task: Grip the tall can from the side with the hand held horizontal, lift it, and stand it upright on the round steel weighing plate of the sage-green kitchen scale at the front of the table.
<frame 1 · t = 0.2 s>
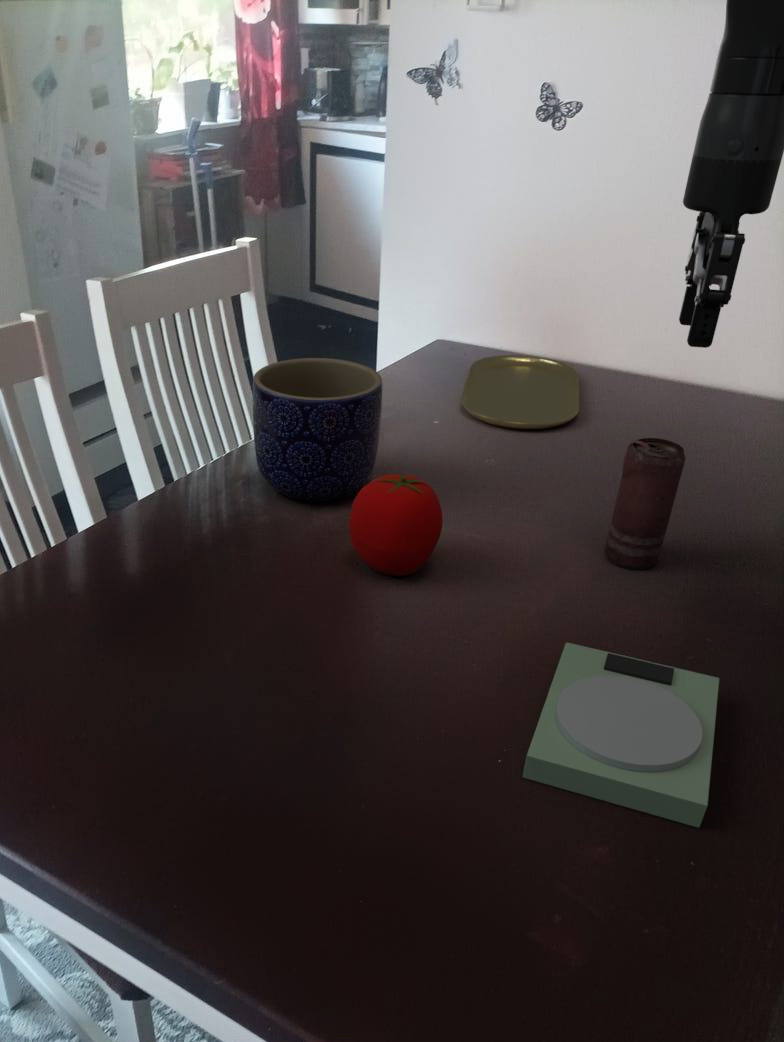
hand: (693, 335, 90), 26 cm above the table, tool pointing down, fingers open, 8 cm apart
serving platter: (520, 396, 153), on the table
scale: (622, 736, 80), on the table
can: (629, 559, 107), on the table
tomato: (393, 566, 105), on the table
planter: (315, 487, 122), on the table
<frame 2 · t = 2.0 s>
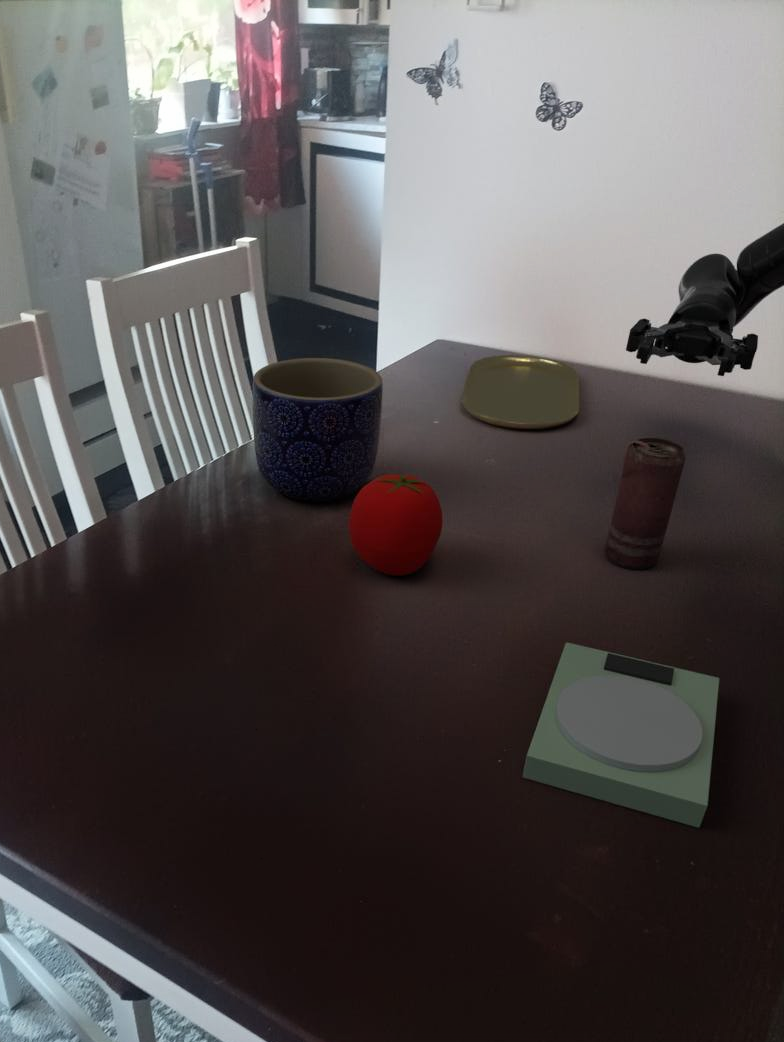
hand: (683, 361, 103), 20 cm above the table, tool horizontal, fingers open, 8 cm apart
nothing on the table moved.
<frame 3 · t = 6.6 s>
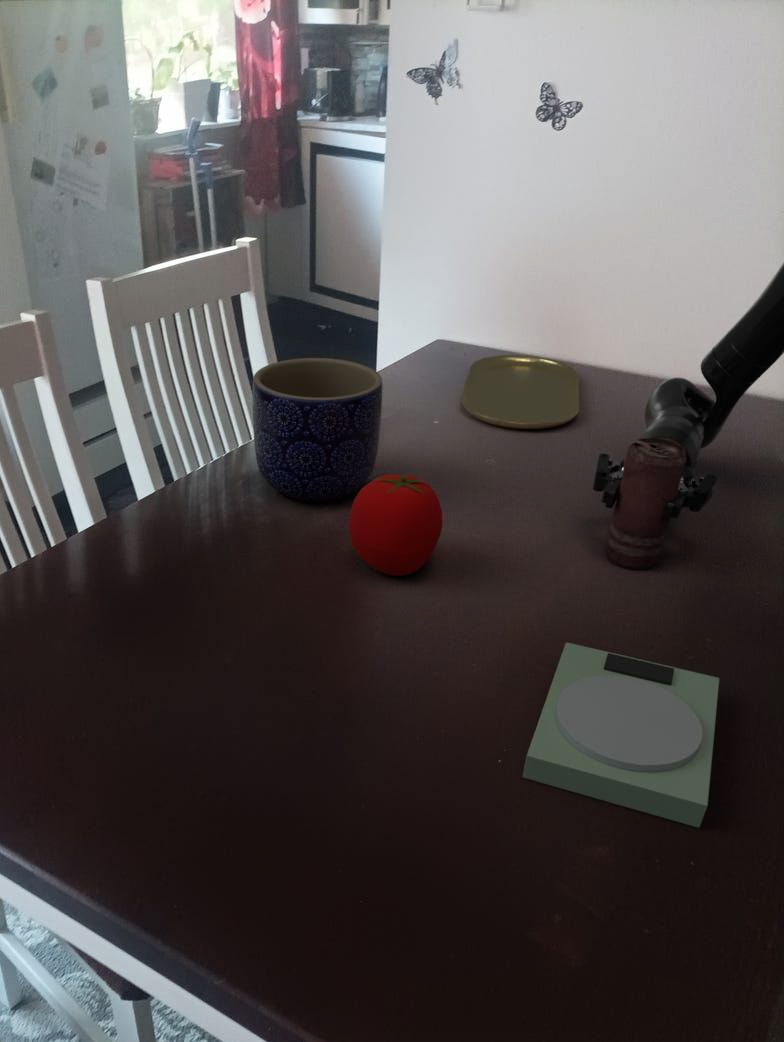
hand: (639, 506, 100), 8 cm above the table, tool horizontal, fingers open, 5 cm apart
can: (629, 559, 107), on the table, touching gripper
everything else where it was.
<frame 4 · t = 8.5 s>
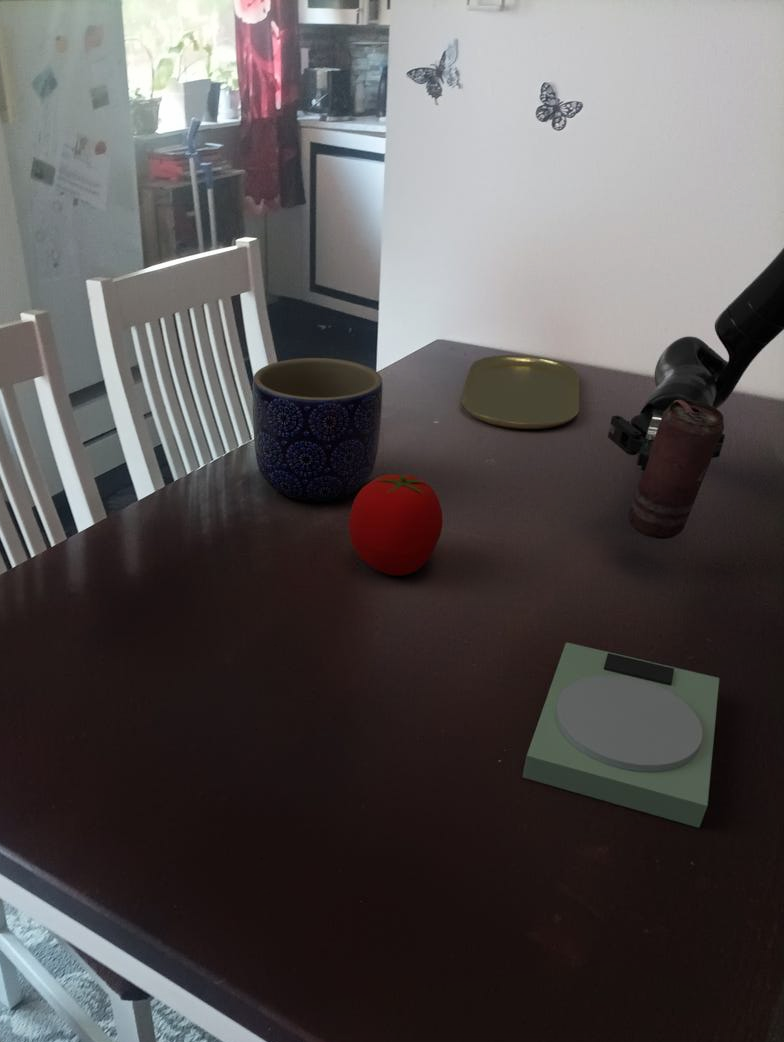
hand: (650, 463, 97), 13 cm above the table, tool horizontal, fingers closed
can: (652, 525, 102), point 5 cm above the table, touching gripper
everything else where it was.
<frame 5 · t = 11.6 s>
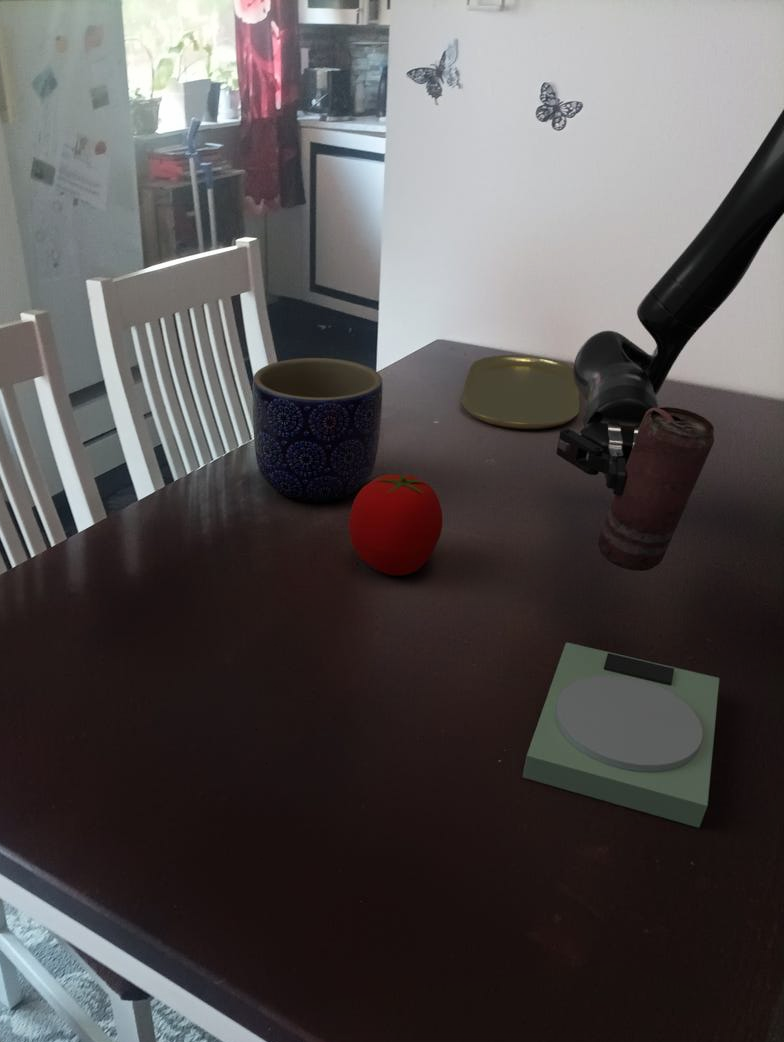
hand: (625, 485, 81), 18 cm above the table, tool horizontal, fingers closed
can: (625, 555, 86), point 10 cm above the table, touching gripper
everything else where it was.
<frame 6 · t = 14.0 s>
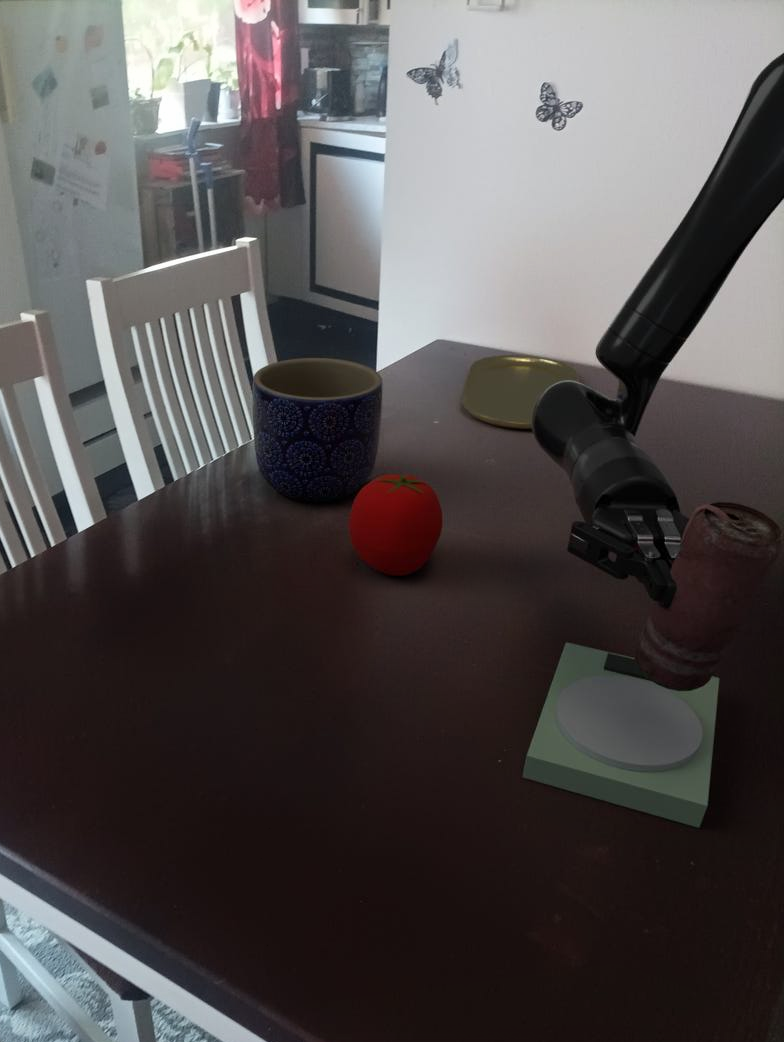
hand: (677, 597, 67), 17 cm above the table, tool horizontal, fingers closed
can: (666, 669, 72), point 9 cm above the table, touching gripper
everything else where it was.
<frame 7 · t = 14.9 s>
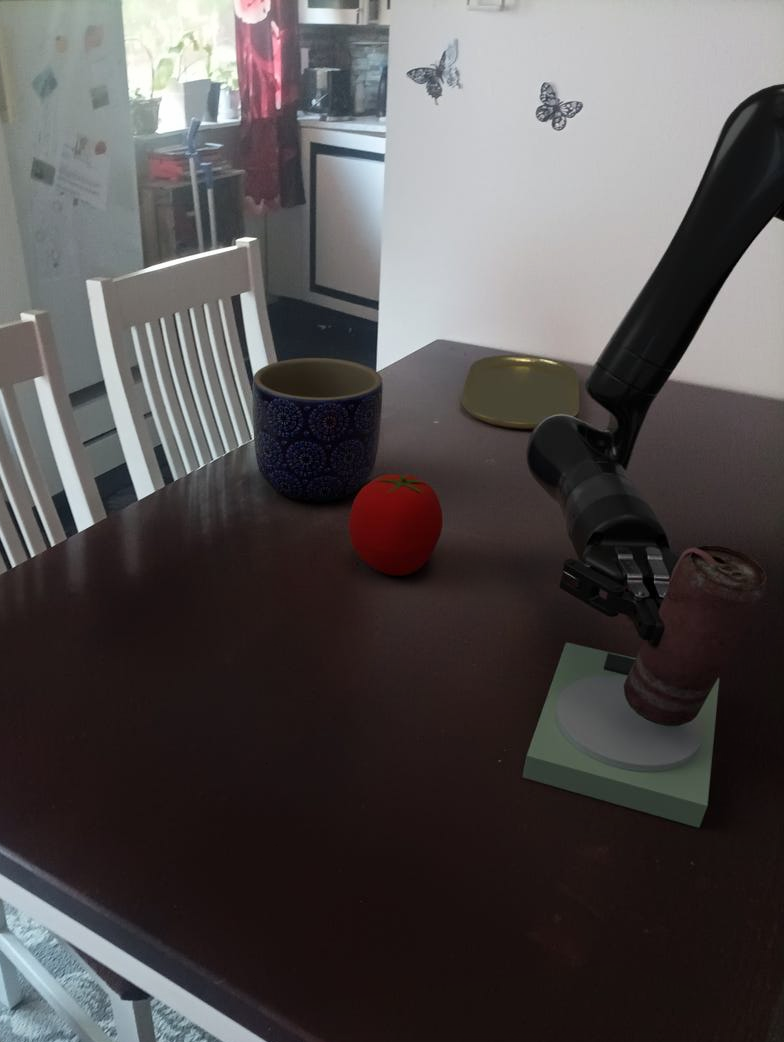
hand: (665, 637, 69), 14 cm above the table, tool horizontal, fingers closed
can: (655, 703, 74), point 6 cm above the table, touching gripper
everything else where it was.
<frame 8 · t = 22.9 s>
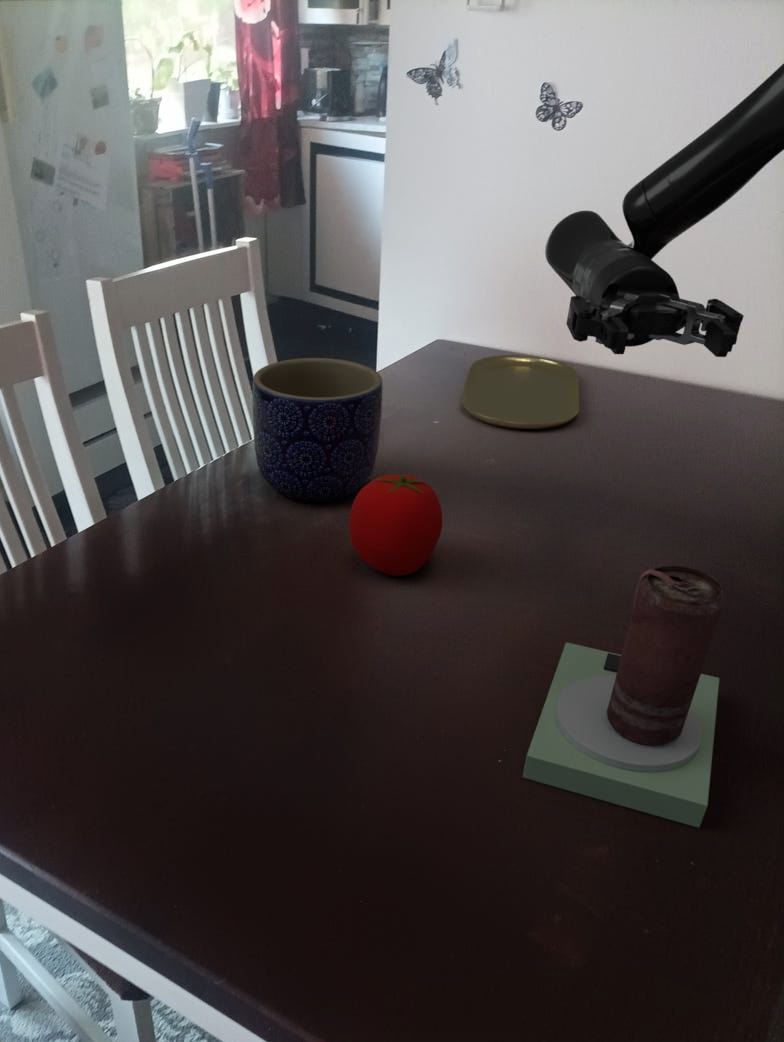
hand: (674, 344, 75), 30 cm above the table, tool horizontal, fingers open, 8 cm apart
can: (640, 726, 76), point 3 cm above the table, touching scale
everything else where it was.
at the end: can inside the target area on the scale (1.3 cm from its centre), point 3.1 cm above the scale's base; can tilted 0°; the gripper is holding nothing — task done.
